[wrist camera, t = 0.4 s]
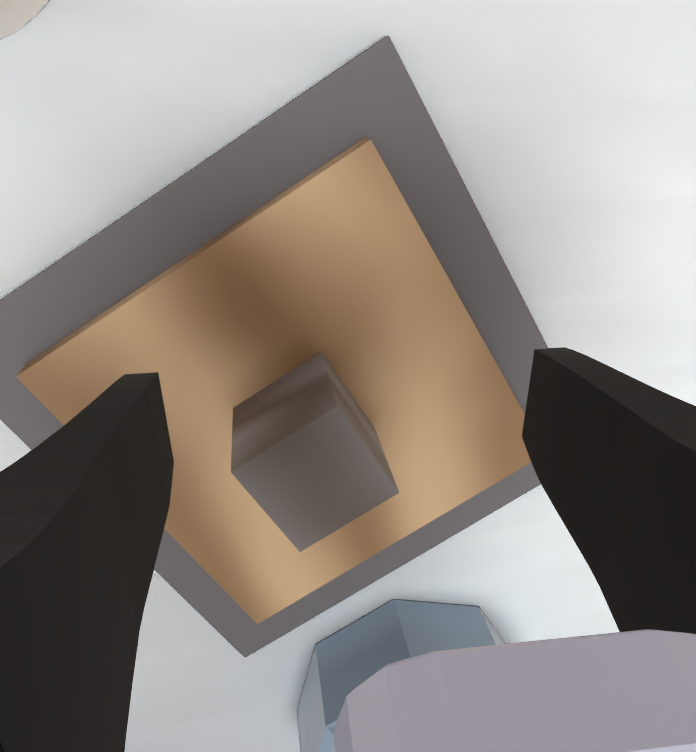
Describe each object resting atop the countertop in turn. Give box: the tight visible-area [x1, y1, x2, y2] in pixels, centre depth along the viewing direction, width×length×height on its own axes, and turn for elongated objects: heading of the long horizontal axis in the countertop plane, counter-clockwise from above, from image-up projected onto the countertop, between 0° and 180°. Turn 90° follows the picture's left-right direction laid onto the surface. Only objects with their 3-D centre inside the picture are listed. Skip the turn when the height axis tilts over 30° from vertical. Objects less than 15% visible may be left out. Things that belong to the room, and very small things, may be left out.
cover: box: [16, 137, 531, 624], centre depth 21 cm, size 13×13×5 cm
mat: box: [0, 36, 548, 657], centre depth 23 cm, size 17×17×1 cm
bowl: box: [297, 599, 505, 752], centre depth 28 cm, size 10×10×4 cm
